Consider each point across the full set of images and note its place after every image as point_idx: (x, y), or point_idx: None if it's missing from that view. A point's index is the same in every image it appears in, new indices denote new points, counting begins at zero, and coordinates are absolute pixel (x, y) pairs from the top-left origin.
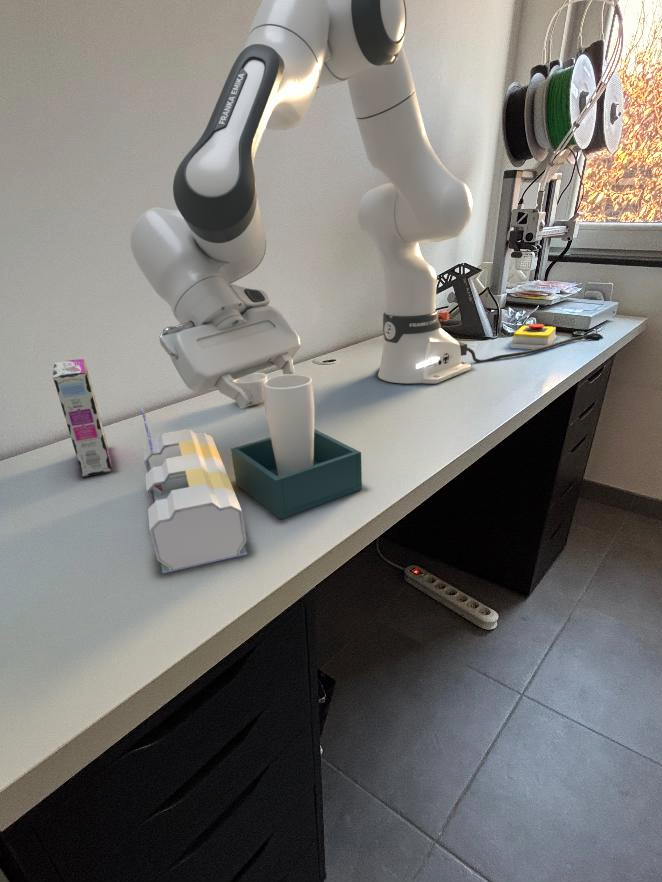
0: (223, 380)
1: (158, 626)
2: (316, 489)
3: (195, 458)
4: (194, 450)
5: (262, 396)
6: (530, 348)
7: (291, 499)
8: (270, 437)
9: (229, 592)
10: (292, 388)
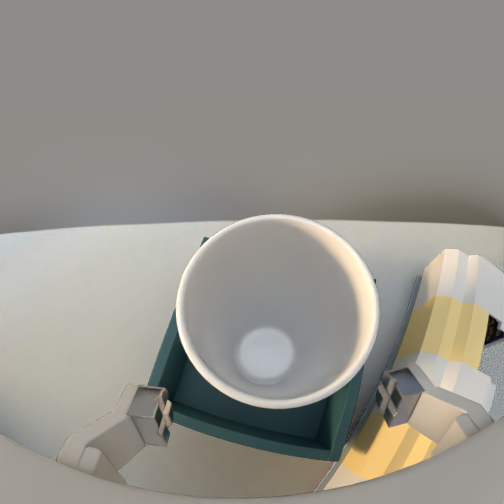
0: (485, 415)
1: (487, 257)
2: None
3: None
4: (433, 442)
5: None
6: None
7: None
8: (241, 442)
9: (446, 246)
10: (328, 229)
